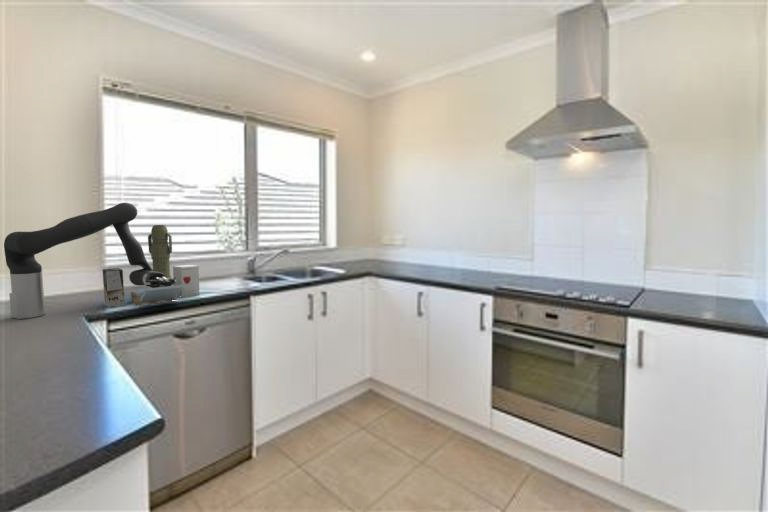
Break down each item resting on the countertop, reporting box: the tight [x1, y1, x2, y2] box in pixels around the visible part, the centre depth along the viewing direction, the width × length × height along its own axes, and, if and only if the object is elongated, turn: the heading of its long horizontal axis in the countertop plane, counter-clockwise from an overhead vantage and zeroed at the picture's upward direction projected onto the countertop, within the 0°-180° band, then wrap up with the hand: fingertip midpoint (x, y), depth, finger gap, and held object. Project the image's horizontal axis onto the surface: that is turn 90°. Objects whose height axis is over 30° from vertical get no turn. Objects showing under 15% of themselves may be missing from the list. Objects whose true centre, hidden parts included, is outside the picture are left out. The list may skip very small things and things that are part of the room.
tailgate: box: [140, 285, 183, 303], centre depth 172 cm, size 14×1×16 cm
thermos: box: [147, 224, 173, 287], centre depth 209 cm, size 9×12×35 cm
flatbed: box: [130, 291, 178, 306], centre depth 182 cm, size 16×12×4 cm
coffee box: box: [102, 267, 125, 308], centre depth 174 cm, size 9×6×16 cm
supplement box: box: [172, 264, 200, 298], centre depth 197 cm, size 9×9×15 cm
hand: (169, 283), depth 167 cm, fingers closed
